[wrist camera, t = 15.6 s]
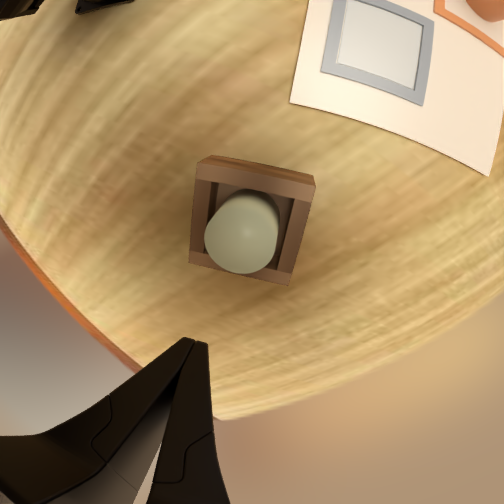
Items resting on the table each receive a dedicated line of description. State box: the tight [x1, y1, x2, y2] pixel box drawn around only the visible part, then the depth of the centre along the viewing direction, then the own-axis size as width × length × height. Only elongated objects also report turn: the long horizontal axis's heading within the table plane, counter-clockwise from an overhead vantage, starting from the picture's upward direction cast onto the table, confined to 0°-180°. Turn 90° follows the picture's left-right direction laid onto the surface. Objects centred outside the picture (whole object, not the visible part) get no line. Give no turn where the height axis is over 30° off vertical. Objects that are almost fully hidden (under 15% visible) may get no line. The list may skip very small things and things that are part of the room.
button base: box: [189, 155, 316, 286], centre depth 19 cm, size 7×7×3 cm
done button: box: [204, 188, 280, 274], centre depth 17 cm, size 4×4×4 cm
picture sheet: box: [290, 0, 504, 177], centre depth 10 cm, size 18×22×1 cm
